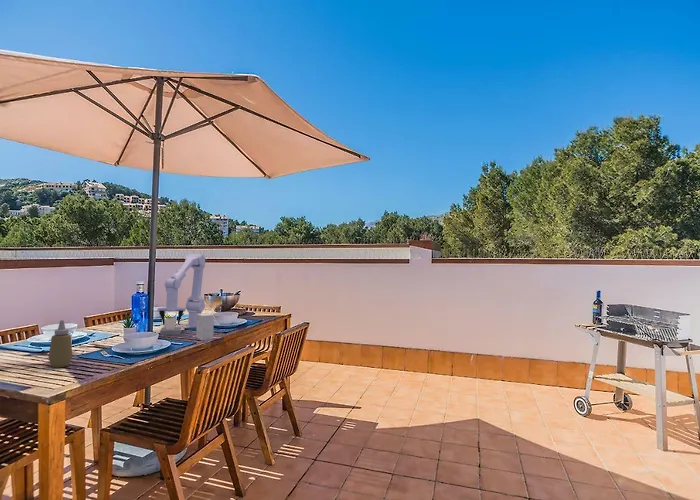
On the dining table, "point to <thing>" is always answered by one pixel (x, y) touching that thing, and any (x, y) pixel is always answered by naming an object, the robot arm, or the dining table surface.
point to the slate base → (170, 331)
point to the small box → (205, 326)
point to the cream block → (171, 323)
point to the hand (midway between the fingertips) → (171, 324)
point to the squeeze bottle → (60, 347)
